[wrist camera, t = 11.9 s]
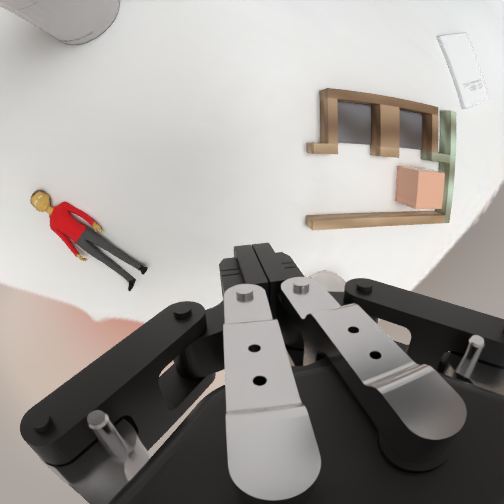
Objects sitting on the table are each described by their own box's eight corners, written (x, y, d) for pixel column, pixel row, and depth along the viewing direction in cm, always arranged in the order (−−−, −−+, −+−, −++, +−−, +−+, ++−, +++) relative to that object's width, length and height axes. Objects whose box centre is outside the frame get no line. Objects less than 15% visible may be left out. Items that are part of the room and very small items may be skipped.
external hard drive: (461, 34, 32) (484, 99, 36) (433, 37, 32) (459, 108, 36) (467, 32, 30) (490, 99, 35) (440, 35, 30) (466, 108, 35)
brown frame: (305, 89, 33) (312, 86, 30) (445, 111, 36) (456, 112, 34) (306, 224, 39) (312, 230, 37) (439, 218, 42) (449, 222, 40)
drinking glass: (291, 293, 42) (314, 335, 33) (324, 258, 41) (357, 292, 32) (321, 316, 45) (347, 358, 35) (352, 284, 43) (386, 320, 34)
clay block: (397, 165, 38) (418, 170, 33) (423, 167, 39) (444, 173, 34) (395, 200, 40) (415, 209, 35) (420, 200, 41) (441, 208, 36)
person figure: (125, 300, 34) (15, 210, 28) (126, 292, 38) (26, 210, 32) (149, 266, 35) (38, 175, 29) (148, 261, 39) (47, 178, 32)
